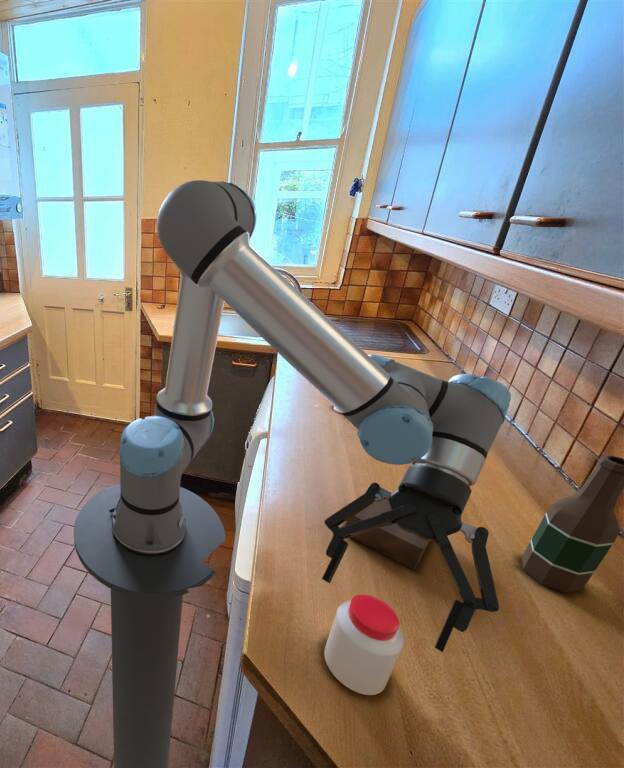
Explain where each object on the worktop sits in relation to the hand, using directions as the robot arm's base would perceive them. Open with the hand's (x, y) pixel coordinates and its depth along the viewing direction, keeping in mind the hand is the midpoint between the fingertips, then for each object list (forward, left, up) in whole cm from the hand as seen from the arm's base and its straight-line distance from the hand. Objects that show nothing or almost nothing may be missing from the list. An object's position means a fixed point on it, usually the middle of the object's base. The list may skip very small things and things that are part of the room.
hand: (377, 613), depth 55 cm
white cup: (-31, +77, -9) cm, 83 cm away
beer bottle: (+17, +39, -9) cm, 43 cm away
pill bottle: (0, -2, -9) cm, 9 cm away
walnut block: (-5, +29, -9) cm, 30 cm away
